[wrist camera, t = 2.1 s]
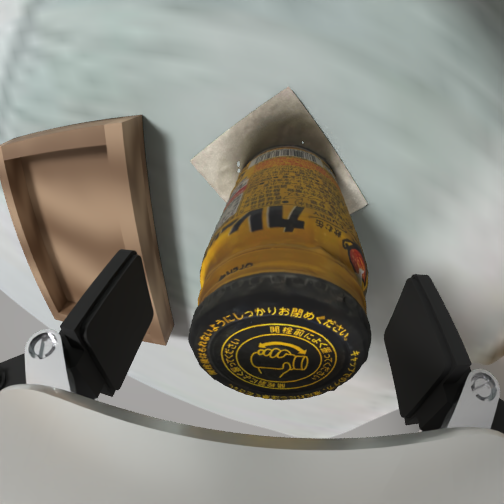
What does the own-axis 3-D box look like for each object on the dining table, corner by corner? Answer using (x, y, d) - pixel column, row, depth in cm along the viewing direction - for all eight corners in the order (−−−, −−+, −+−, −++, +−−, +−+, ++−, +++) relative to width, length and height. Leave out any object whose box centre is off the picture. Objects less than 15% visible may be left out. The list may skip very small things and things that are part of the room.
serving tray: (14, 138, 17) (-7, 148, 14) (141, 114, 15) (121, 122, 13) (66, 303, 27) (55, 319, 25) (174, 324, 26) (165, 345, 24)
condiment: (273, 256, 20) (254, 424, 10) (190, 159, 17) (72, 291, 7) (367, 202, 17) (436, 367, 7) (288, 86, 14) (292, 106, 4)
